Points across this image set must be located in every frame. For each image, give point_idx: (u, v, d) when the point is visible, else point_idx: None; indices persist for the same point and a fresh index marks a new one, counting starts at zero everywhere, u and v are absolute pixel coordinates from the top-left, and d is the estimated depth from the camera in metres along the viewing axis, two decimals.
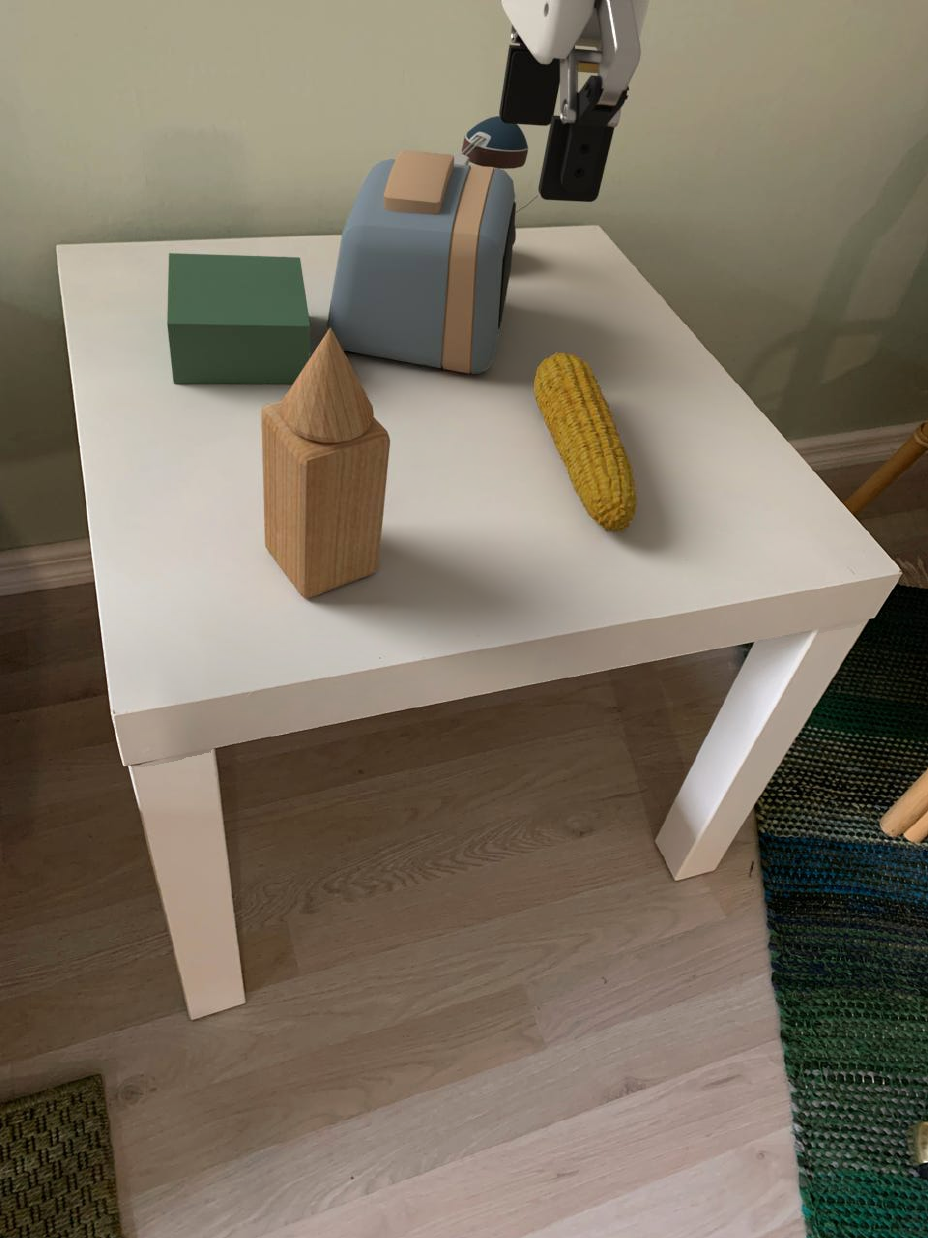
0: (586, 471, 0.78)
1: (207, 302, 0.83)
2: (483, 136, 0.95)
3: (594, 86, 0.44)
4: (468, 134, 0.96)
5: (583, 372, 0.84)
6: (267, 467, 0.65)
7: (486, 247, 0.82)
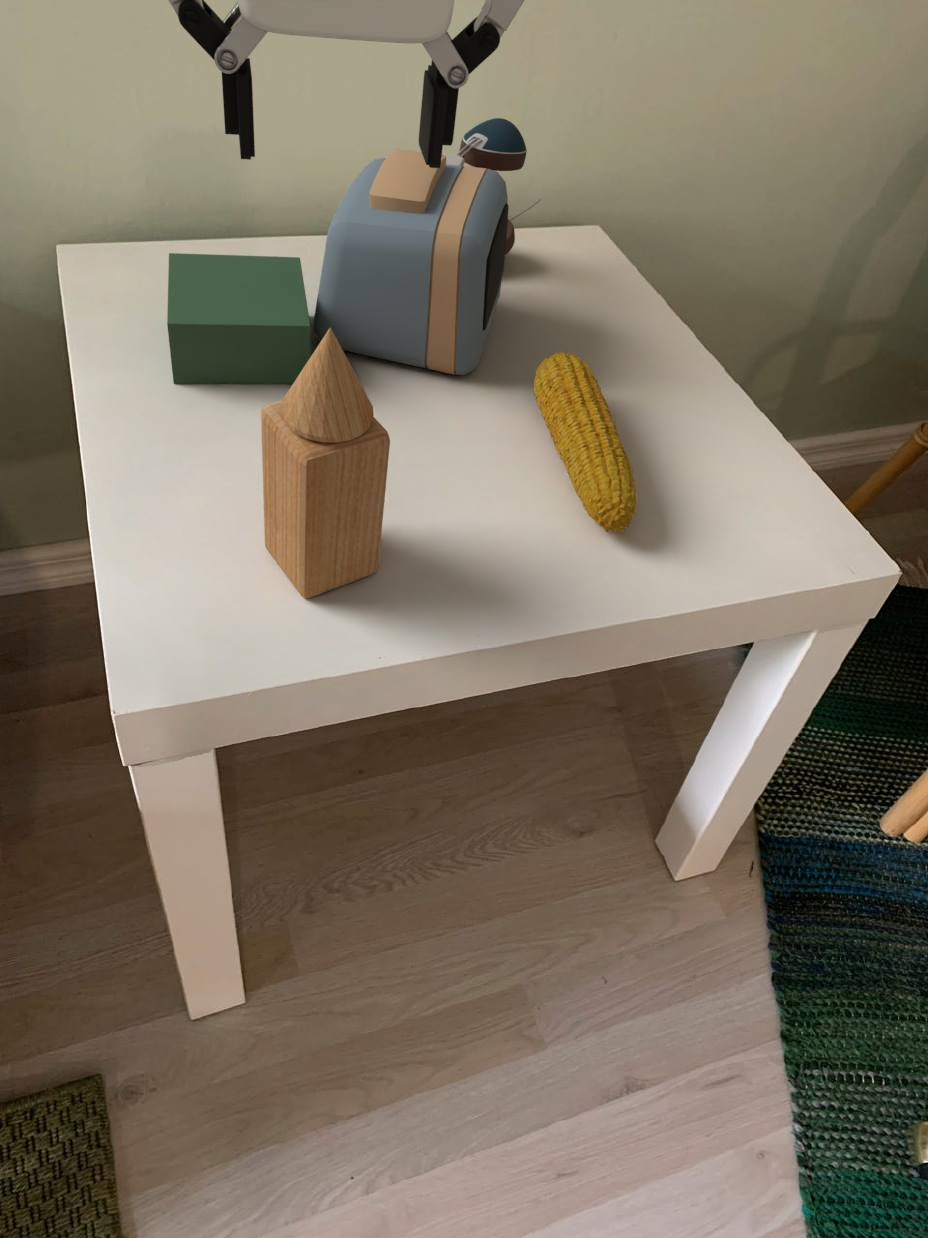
0: (586, 471, 0.78)
1: (207, 302, 0.83)
2: (480, 138, 0.95)
3: None
4: (465, 135, 0.96)
5: (583, 372, 0.84)
6: (267, 467, 0.65)
7: (469, 247, 0.81)
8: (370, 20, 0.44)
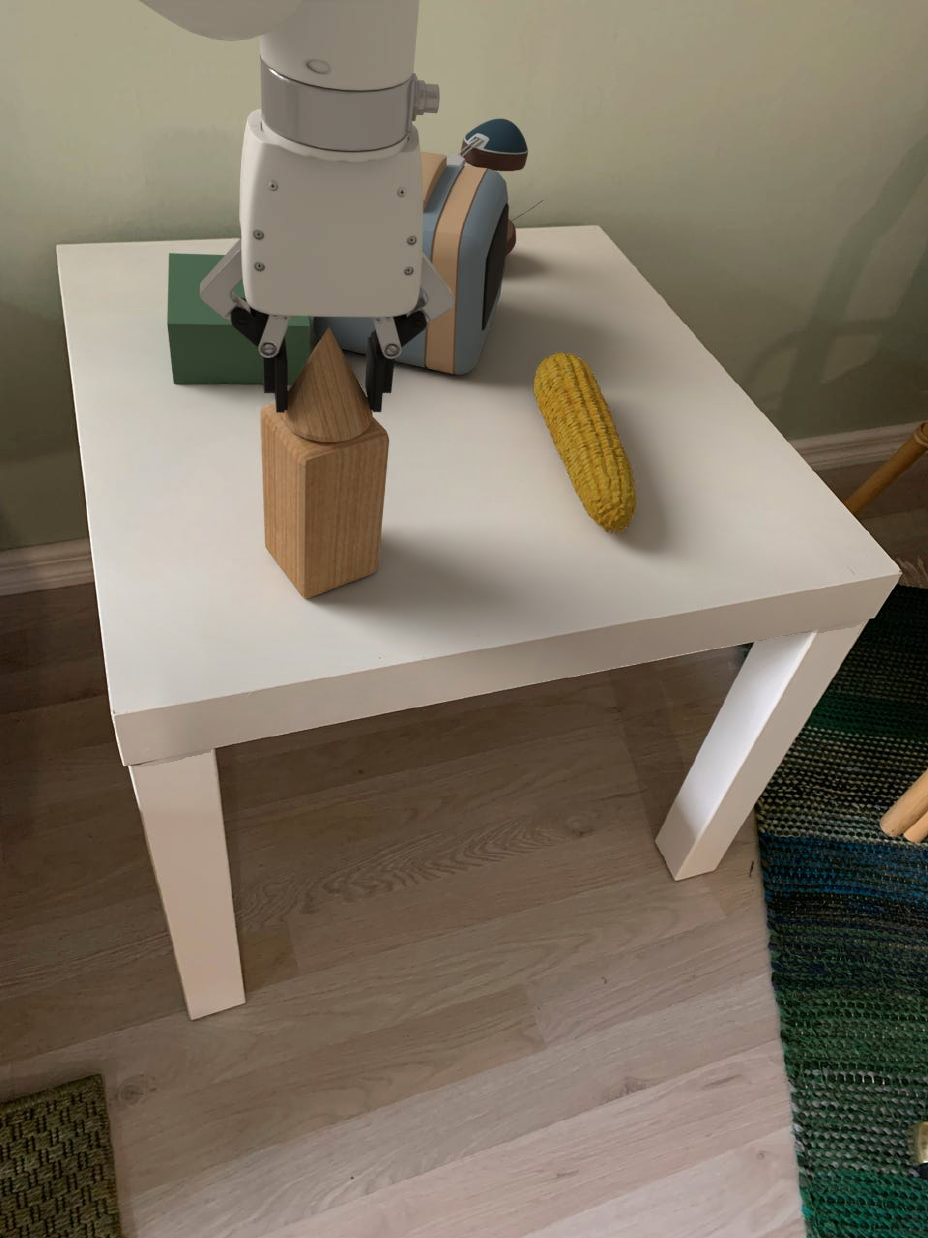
0: (586, 471, 0.78)
1: None
2: (481, 138, 0.95)
3: None
4: (467, 136, 0.96)
5: (583, 372, 0.84)
6: (266, 467, 0.65)
7: (468, 247, 0.81)
8: (351, 306, 0.55)
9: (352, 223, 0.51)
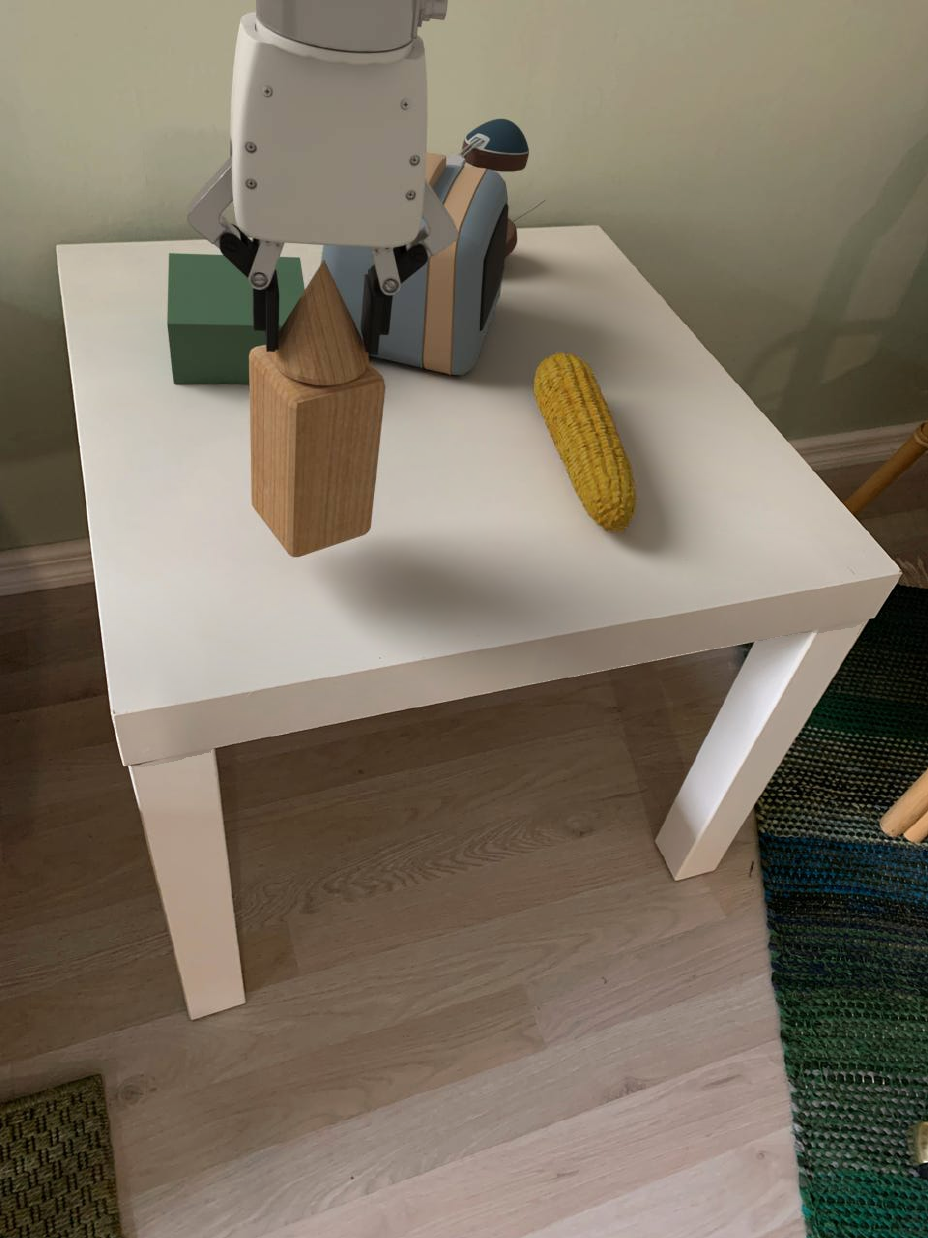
0: (586, 471, 0.78)
1: (207, 302, 0.83)
2: (482, 138, 0.94)
3: None
4: (468, 136, 0.95)
5: (583, 372, 0.84)
6: (255, 415, 0.62)
7: (465, 247, 0.81)
8: (349, 233, 0.51)
9: (351, 137, 0.47)
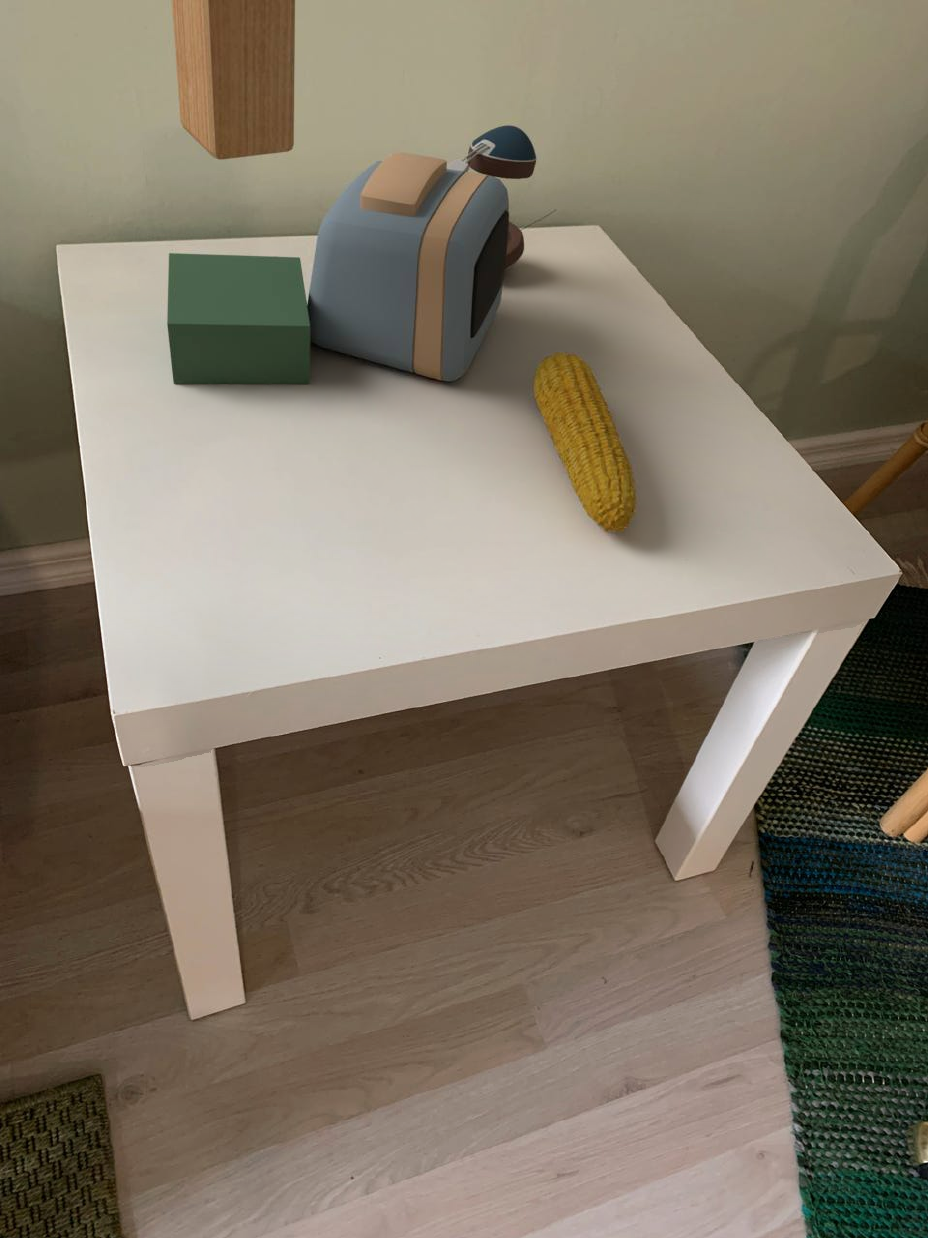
0: (585, 471, 0.78)
1: (207, 302, 0.83)
2: (487, 144, 0.94)
3: None
4: (474, 141, 0.95)
5: (583, 372, 0.84)
6: (175, 0, 0.65)
7: (455, 252, 0.80)
8: None
9: None
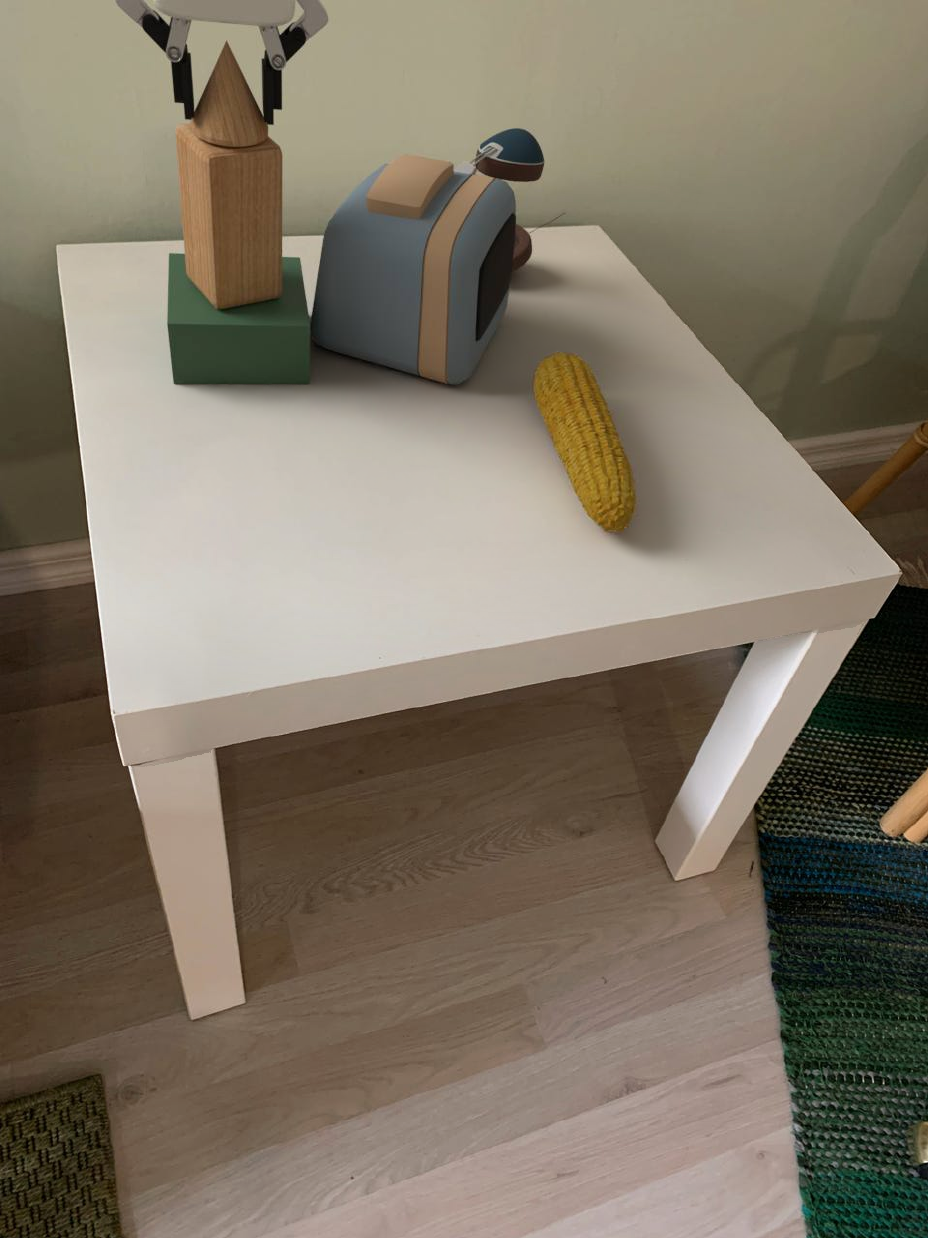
0: (585, 471, 0.78)
1: (207, 302, 0.83)
2: (495, 147, 0.93)
3: None
4: (482, 144, 0.95)
5: (583, 372, 0.84)
6: (182, 184, 0.78)
7: (460, 255, 0.80)
8: (239, 10, 0.68)
9: None
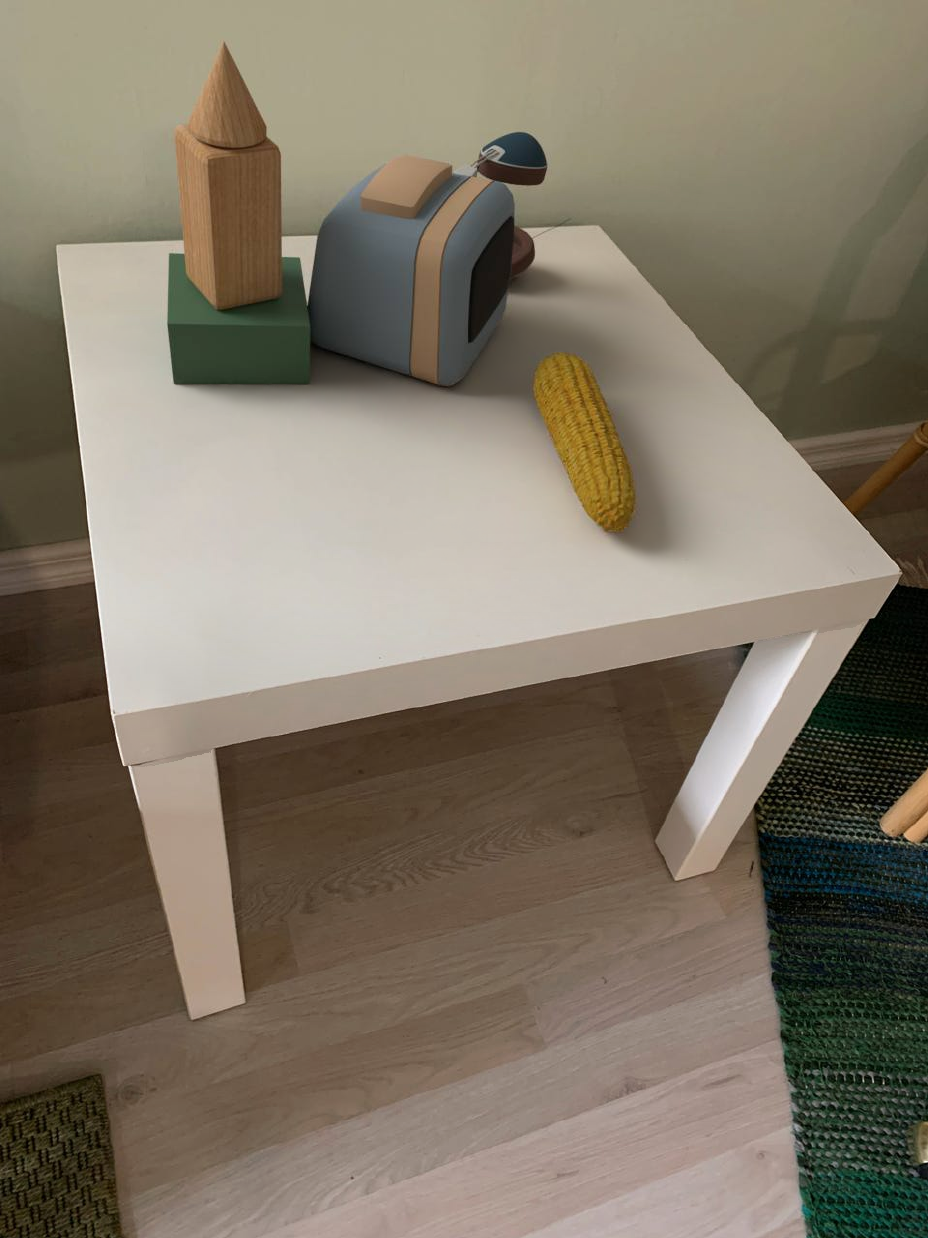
0: (585, 471, 0.78)
1: (207, 302, 0.83)
2: (497, 150, 0.93)
3: None
4: (484, 147, 0.94)
5: (583, 372, 0.84)
6: (181, 185, 0.78)
7: (452, 256, 0.80)
8: None
9: None
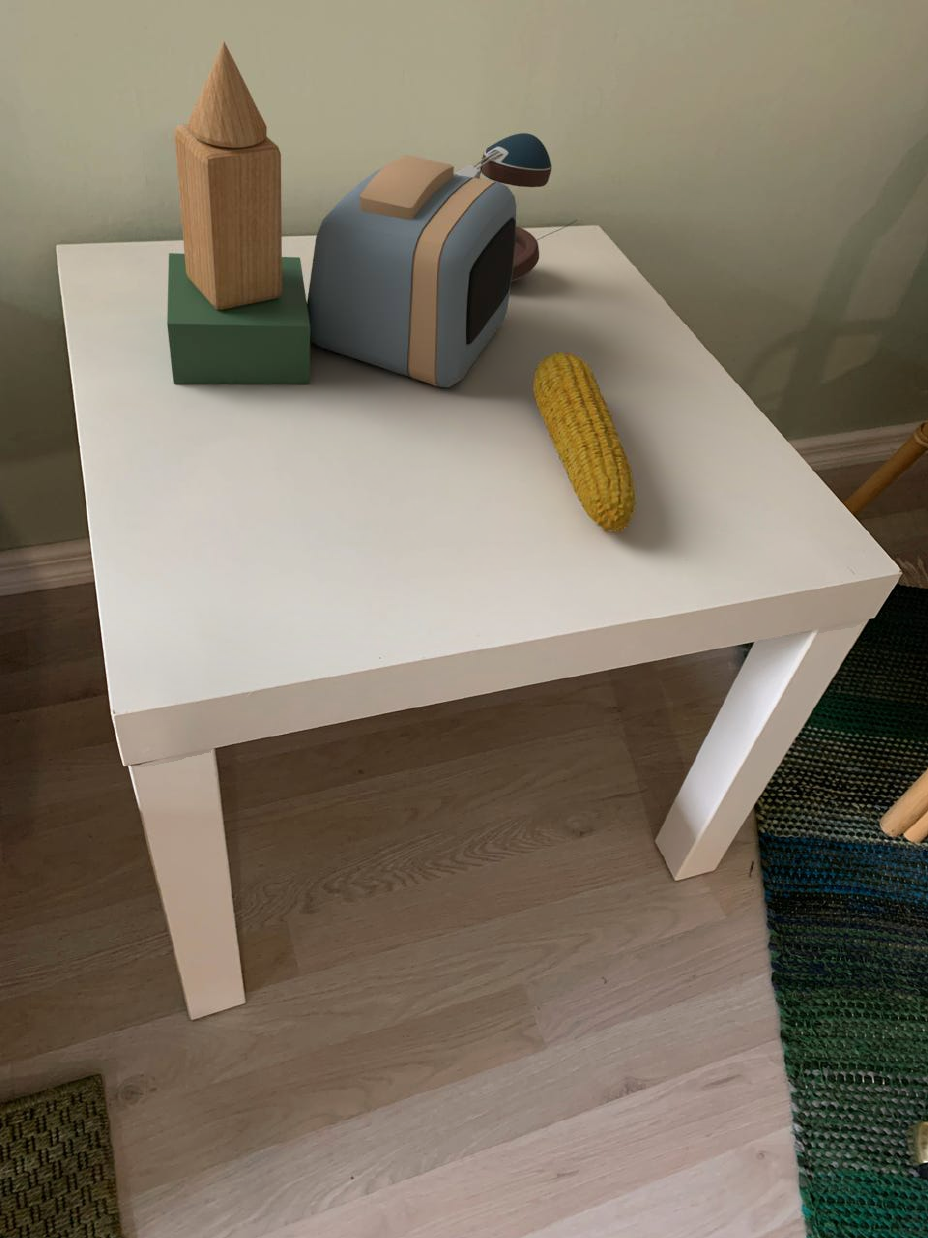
0: (585, 471, 0.78)
1: (207, 302, 0.83)
2: (500, 151, 0.93)
3: None
4: (488, 148, 0.94)
5: (583, 372, 0.84)
6: (181, 185, 0.78)
7: (449, 257, 0.80)
8: None
9: None
